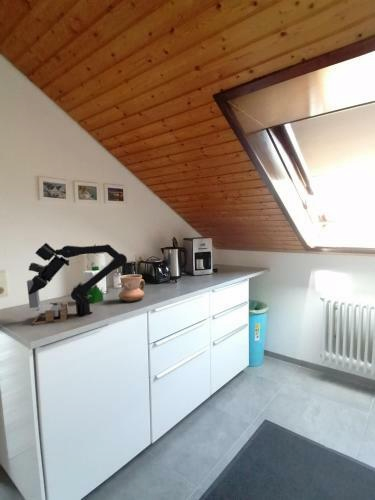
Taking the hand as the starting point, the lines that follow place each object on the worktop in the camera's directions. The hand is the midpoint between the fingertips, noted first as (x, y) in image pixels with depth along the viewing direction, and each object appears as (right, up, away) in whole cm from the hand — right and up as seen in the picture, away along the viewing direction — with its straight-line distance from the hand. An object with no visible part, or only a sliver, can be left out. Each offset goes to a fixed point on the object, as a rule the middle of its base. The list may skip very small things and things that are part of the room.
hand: (30, 292), depth 133 cm
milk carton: (+19, -10, +33) cm, 40 cm away
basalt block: (+2, -6, +1) cm, 7 cm away
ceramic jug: (+42, -9, +33) cm, 54 cm away
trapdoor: (+7, -10, +3) cm, 13 cm away
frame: (+8, -13, +3) cm, 15 cm away
